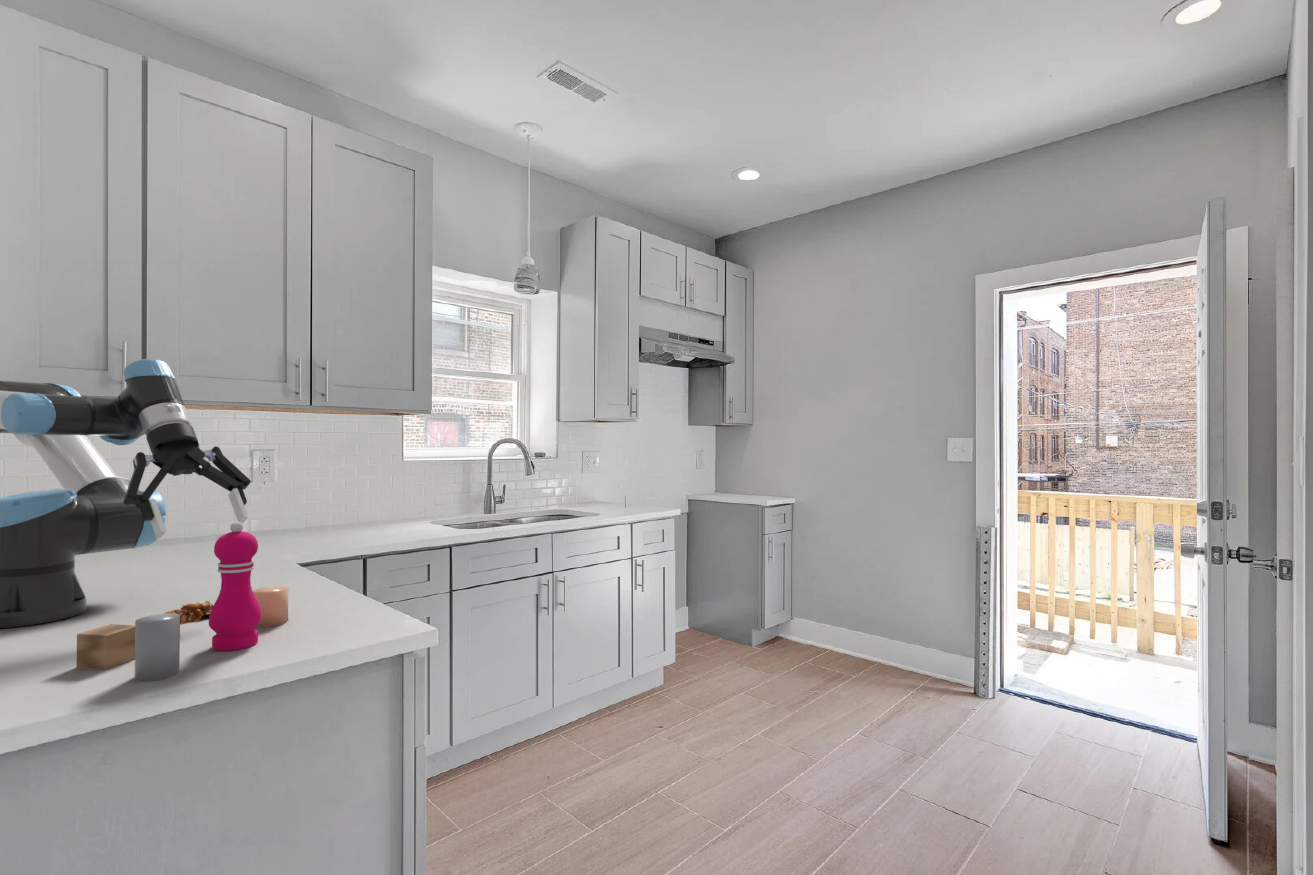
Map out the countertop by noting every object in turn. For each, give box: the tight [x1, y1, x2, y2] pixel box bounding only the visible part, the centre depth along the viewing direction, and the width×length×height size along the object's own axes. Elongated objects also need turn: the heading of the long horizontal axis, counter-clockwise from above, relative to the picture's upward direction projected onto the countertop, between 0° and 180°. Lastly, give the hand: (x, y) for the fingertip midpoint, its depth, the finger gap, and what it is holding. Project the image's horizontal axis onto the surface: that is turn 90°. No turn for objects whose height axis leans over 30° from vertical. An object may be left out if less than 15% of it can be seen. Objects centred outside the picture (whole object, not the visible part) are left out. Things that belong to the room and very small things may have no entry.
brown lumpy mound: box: [164, 600, 214, 625], centre depth 117 cm, size 7×12×4 cm, turn 148°
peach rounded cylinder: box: [252, 585, 289, 628], centre depth 116 cm, size 6×6×6 cm
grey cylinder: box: [134, 613, 181, 682], centre depth 90 cm, size 5×5×8 cm
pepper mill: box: [208, 521, 262, 652], centre depth 103 cm, size 7×7×20 cm
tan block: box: [75, 623, 135, 671], centre depth 95 cm, size 5×5×5 cm
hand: (204, 527), depth 118 cm, fingers open, 13 cm apart
